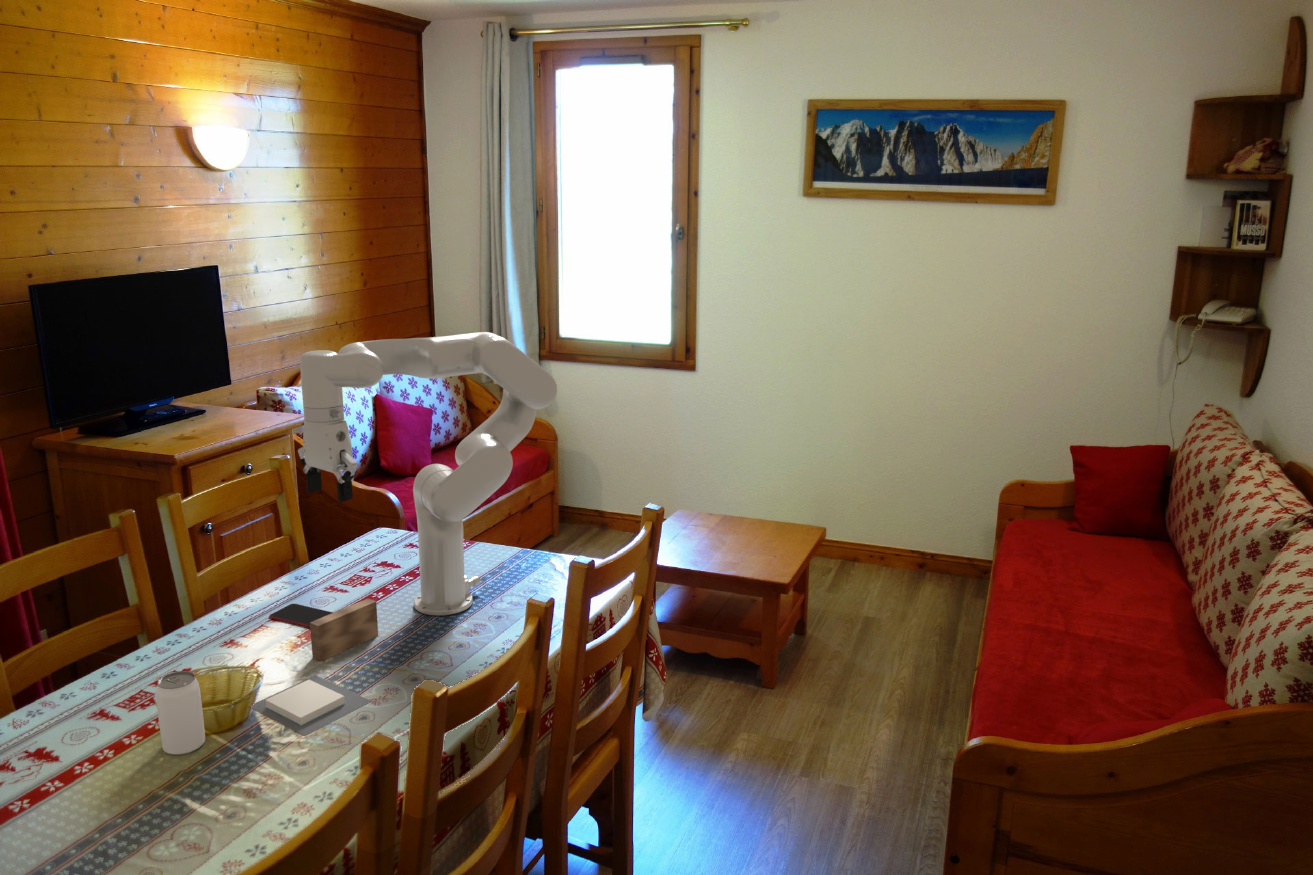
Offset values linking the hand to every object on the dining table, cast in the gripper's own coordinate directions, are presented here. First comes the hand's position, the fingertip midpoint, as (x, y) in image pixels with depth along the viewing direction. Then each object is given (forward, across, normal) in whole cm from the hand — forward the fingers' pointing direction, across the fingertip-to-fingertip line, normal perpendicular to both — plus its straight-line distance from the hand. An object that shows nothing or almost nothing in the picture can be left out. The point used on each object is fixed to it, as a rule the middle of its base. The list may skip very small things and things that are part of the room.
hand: (329, 495), depth 200 cm
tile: (+27, -23, +20) cm, 41 cm away
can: (+28, -17, +44) cm, 55 cm away
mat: (+28, -23, +24) cm, 44 cm away
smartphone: (+29, +8, +2) cm, 30 cm away
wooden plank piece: (+28, -10, +6) cm, 31 cm away
